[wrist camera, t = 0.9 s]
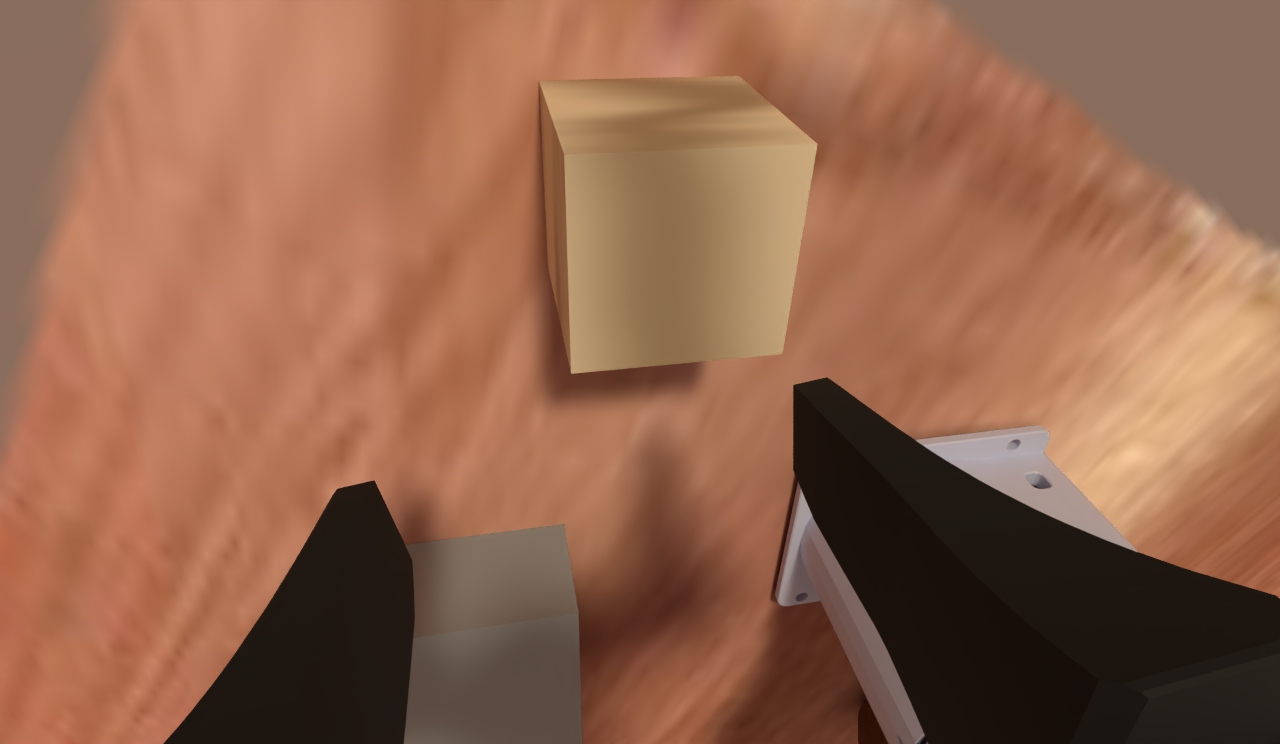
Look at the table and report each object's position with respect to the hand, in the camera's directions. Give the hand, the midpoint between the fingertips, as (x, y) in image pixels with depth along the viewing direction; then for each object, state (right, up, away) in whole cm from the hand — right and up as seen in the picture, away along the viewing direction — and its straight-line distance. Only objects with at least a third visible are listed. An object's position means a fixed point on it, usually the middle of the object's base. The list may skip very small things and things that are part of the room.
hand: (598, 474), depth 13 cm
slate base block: (-6, -7, +15) cm, 17 cm away
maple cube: (+1, +7, +6) cm, 9 cm away
